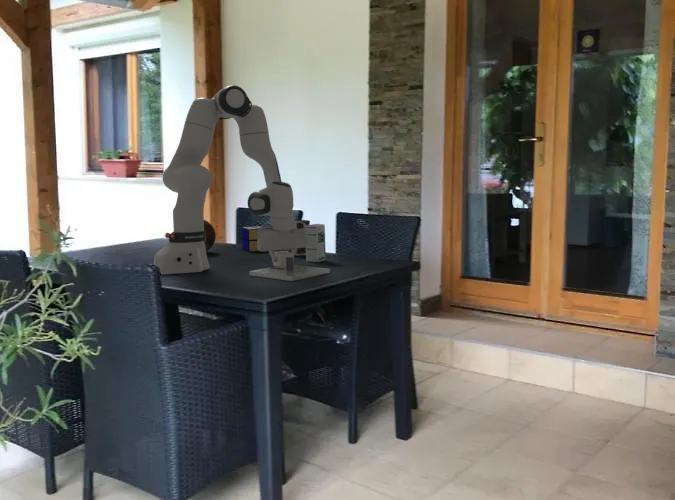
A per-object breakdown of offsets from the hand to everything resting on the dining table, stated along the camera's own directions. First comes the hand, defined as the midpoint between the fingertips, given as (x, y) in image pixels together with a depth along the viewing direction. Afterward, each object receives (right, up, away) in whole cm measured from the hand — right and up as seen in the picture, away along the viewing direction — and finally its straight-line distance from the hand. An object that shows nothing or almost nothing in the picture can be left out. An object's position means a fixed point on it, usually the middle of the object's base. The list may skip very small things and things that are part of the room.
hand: (283, 261), depth 267 cm
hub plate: (+4, -4, -20) cm, 20 cm away
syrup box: (+12, 0, +11) cm, 16 cm away
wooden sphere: (-40, +3, +38) cm, 55 cm away
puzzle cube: (-16, +4, +46) cm, 49 cm away
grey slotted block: (0, -2, 0) cm, 2 cm away
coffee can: (+4, +2, +32) cm, 32 cm away
